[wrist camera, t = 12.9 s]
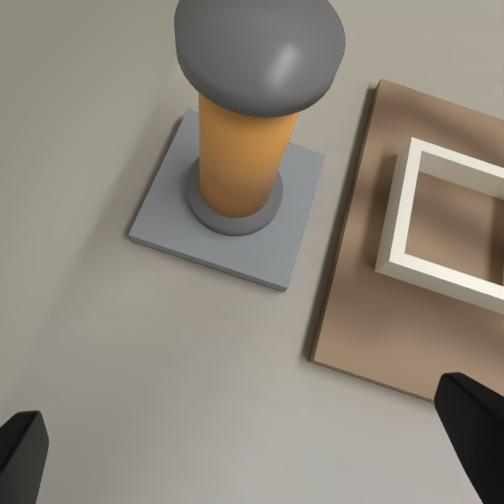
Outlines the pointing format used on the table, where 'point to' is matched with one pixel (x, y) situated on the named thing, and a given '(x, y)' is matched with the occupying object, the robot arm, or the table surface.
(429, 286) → the white square frame
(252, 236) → the grey mat
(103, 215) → the table surface
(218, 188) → the orange cylinder grey ends
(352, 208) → the walnut board
